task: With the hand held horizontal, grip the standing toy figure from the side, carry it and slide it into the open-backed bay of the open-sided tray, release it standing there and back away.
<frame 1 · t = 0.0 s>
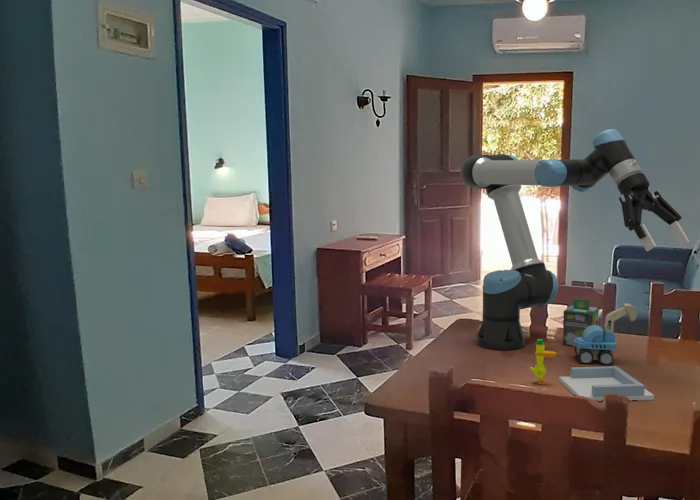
hand: (668, 246, 164), 36 cm above the table, tool tilted 35°, fingers open, 13 cm apart
toy excavator: (603, 361, 185), on the table
open-sided tray: (604, 390, 161), on the table
toy figure: (542, 384, 167), on the table
chalk box: (580, 344, 203), on the table
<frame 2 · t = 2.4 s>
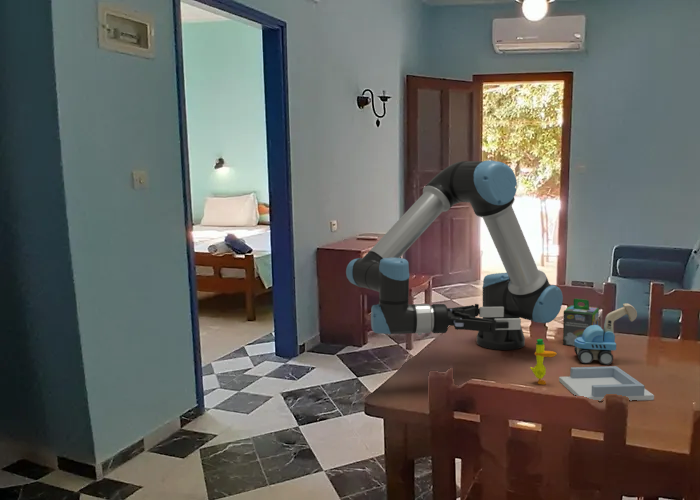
hand: (511, 317, 164), 18 cm above the table, tool horizontal, fingers open, 13 cm apart
nothing on the table moved.
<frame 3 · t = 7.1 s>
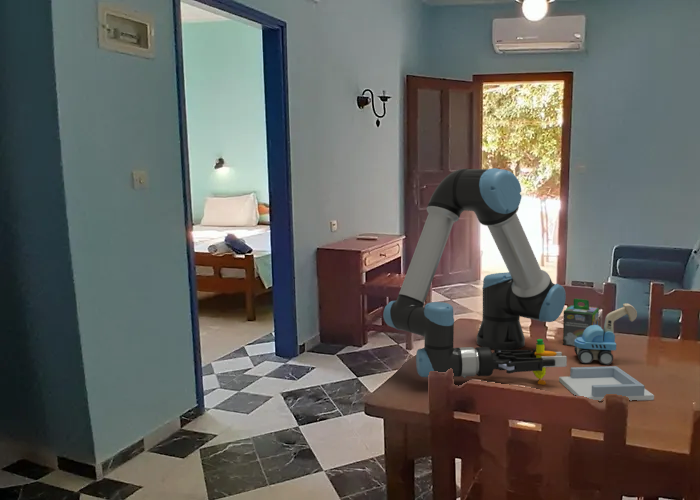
hand: (563, 359, 166), 7 cm above the table, tool horizontal, fingers closed on toy figure, 3 cm apart
toy figure: (542, 384, 167), on the table, touching gripper
everything else where it was.
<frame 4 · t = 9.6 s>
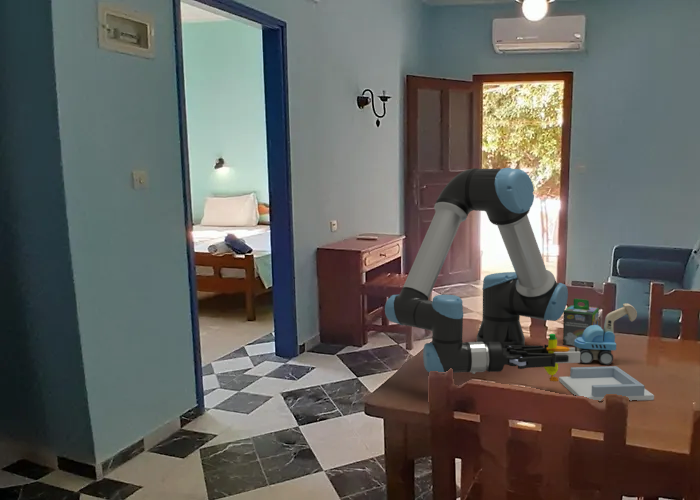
hand: (576, 355, 160), 10 cm above the table, tool horizontal, fingers closed on toy figure, 3 cm apart
toy figure: (554, 380, 160), point 3 cm above the table, touching gripper
everything else where it was.
when the fingers open (9 cm above the table, at t = 12.4 s): toy figure drops 1 cm, resting on open-sided tray.
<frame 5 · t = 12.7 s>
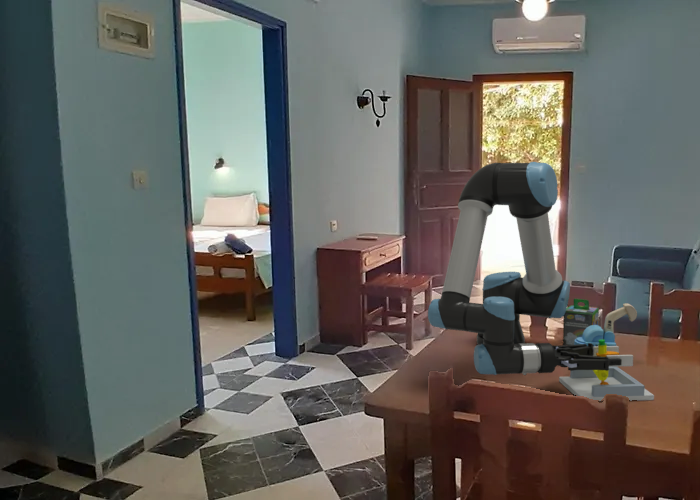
hand: (624, 355, 160), 9 cm above the table, tool horizontal, fingers open, 7 cm apart
toy figure: (605, 386, 161), point 1 cm above the table, touching open-sided tray
everything else where it was.
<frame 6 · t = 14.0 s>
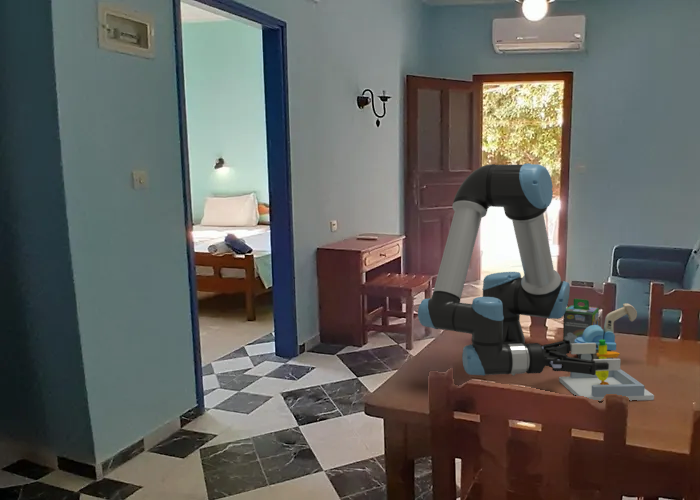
hand: (607, 355, 160), 9 cm above the table, tool horizontal, fingers open, 13 cm apart
nothing on the table moved.
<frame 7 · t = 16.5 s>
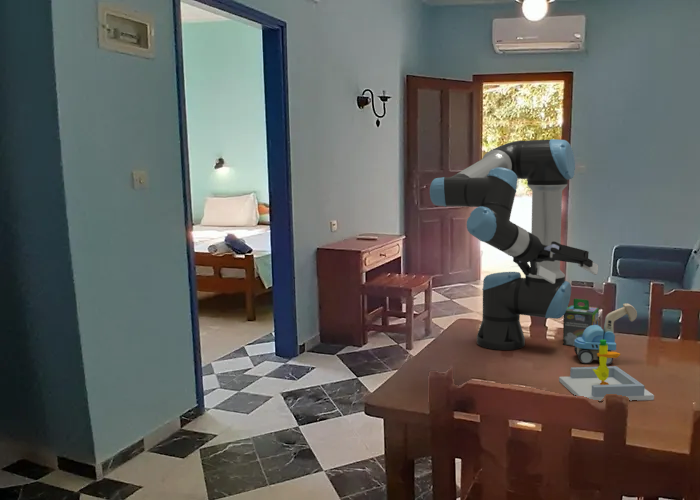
hand: (574, 274, 168), 28 cm above the table, tool tilted 65°, fingers open, 13 cm apart
nothing on the table moved.
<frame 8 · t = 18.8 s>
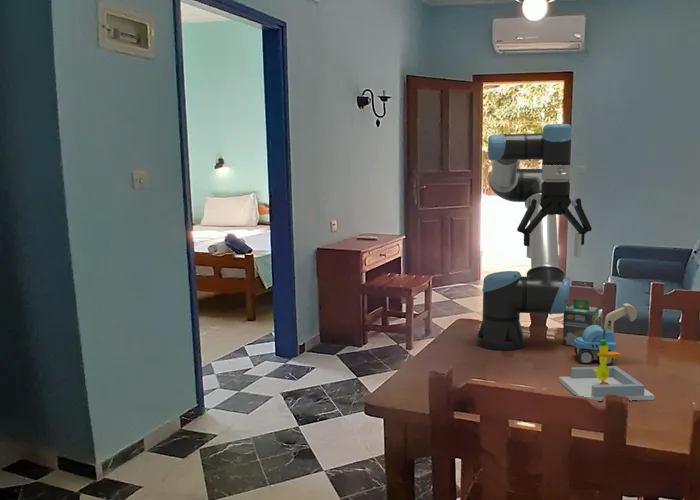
hand: (553, 257, 176), 32 cm above the table, tool pointing down, fingers open, 13 cm apart
nothing on the table moved.
at the end: toy figure 0.3 cm from the open-sided tray (horizontally); toy figure tilted 0°; the gripper is holding nothing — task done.
